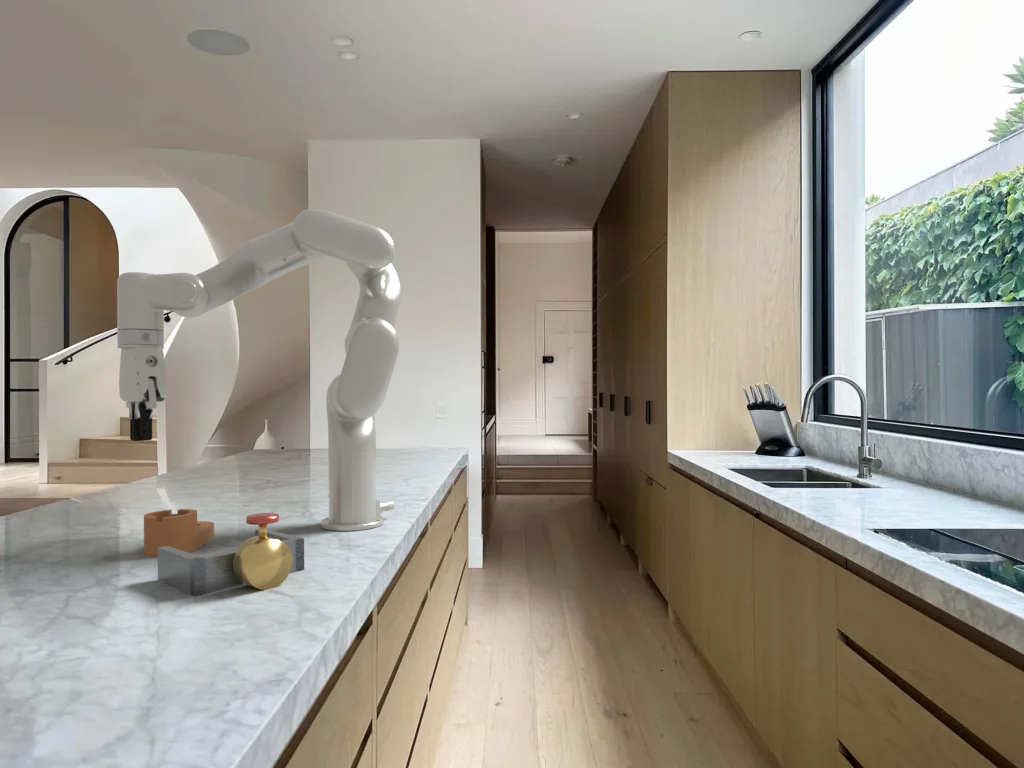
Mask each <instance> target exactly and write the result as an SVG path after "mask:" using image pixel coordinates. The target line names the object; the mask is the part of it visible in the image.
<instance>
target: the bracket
mask: <svg viewBox="0 0 1024 768" xmlns="http://www.w3.org/2000/svg"><path fill="white" fill-rule="evenodd" d="M212 537H213V538H215V523H214V522H213V521H208V520H206V521H205V520H198V511H197V510H196V509H193V508H192V509H190V508H180V509H177V513H172V509H163V510H156V511H153V512H149V513H145V514H144V515H143V552H144V553H143V555H144V556H145V555H146V556H145V557H148V556H150V557H149V558H158V547H164V546H170V547H173V548H176V549H179V550H182V551H185V552H188V553H190V552H191V553H194V552H196V551H197V550H198V548H199V547H200V546H201V547H203V546H204V545H205V544H207V543H208V542H209V541H211V540H212V539H213V538H212ZM211 538H212V539H211ZM210 539H211V540H210ZM208 540H209V541H208ZM207 541H208V542H207ZM206 542H207V543H206ZM204 543H205V544H204ZM203 544H204V545H203ZM202 545H203V546H202ZM201 547H200V548H201ZM200 548H199V549H200ZM195 550H196V551H195ZM193 551H194V552H193Z"/></svg>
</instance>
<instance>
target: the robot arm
mask: <svg viewBox="0 0 1024 768" xmlns="http://www.w3.org/2000/svg"><path fill="white" fill-rule="evenodd" d="M395 249H396V246H395V242H394V240H393V238H392V236H390V235H389V233H388V232H386V231H385V230H384V229H382V228H381V227H378V226H375V225H372V224H370V223H366V222H364V221H360V220H358V219H357V220H356V219H354V218H351V217H348V216H344V215H341V214H338V213H336V212H332V211H329V210H325V209H322V208H320V209H319V208H308V209H304V210H303V211H300V213H298V214H297V215H296V217H295V219H294V221H292V222H290V223H287V224H286V225H283V226H281V227H279V228H276V229H274V230H272V231H269V232H268V233H265V234H262V235H260V236H258V237H256V238H254V239H251V240H249V241H246V242H244V243H243V244H242V245H240V246H238V248H237V249H236V250H234V251H233V253H232V254H231V255H229V256H228V257H227V258H225V259H224V260H223V261H221V262H219V263H217V264H216V265H214V266H212V267H210V268H208V269H206V270H204V271H202V272H199V273H197V274H192V273H189V272H188V273H187V272H174V273H173V272H172V273H161V274H159V273H157V274H155V273H148V272H140V271H137V272H136V271H132V272H128V271H127V272H124V273H121V274H120V275H119V276H118V277H117V280H116V281H117V282H116V288H117V289H116V295H117V296H116V301H117V302H116V311H117V312H116V314H117V315H116V317H117V318H116V323H117V325H116V326H117V327H116V329H117V330H116V332H117V333H116V334H117V337H116V339H117V345H116V346H117V349H121V351H120V358H119V360H120V362H119V373H118V374H119V377H118V378H119V379H118V380H119V381H118V382H119V383H118V385H119V389H118V390H119V397H120V400H122V401H124V402H125V403H126V404H125V407H126V408H128V416H129V435H130V436H129V439H130V441H132V442H140V441H151V440H152V439H153V417H154V410H155V409H157V406H158V404H157V402H165V400H166V399H167V396H168V395H167V392H168V390H167V389H168V388H167V387H168V386H167V371H166V363H165V362H166V360H165V355H164V348H165V337H164V335H165V329H164V328H165V327H164V326H165V321H164V320H165V319H164V314H165V311H169V312H173V313H175V314H177V315H178V316H180V317H183V318H196V317H199V316H202V315H203V314H206V313H209V312H210V311H212V310H215V309H217V308H220V307H221V306H224V305H226V304H227V303H229V302H231V301H233V300H236V299H238V298H240V297H241V296H243V295H245V294H247V293H249V292H252V291H255V290H256V289H259V288H261V287H263V286H265V285H266V284H268V283H271V282H273V281H275V280H277V279H279V278H281V277H283V276H284V275H288V274H289V273H292V272H293V271H295V270H298V269H300V268H302V267H305V266H306V265H308V264H311V263H313V262H316V261H317V260H319V259H321V258H323V257H324V256H327V257H330V258H333V259H336V260H340V261H343V262H346V266H347V267H348V269H349V270H350V272H352V273H353V275H354V276H355V278H356V279H357V281H358V283H359V293H358V294H359V295H358V299H357V303H356V306H355V311H354V313H353V317H352V320H351V323H350V326H349V328H348V331H347V334H346V337H345V339H344V351H345V354H346V355H345V358H344V362H343V365H342V368H341V372H340V374H338V375H337V376H335V377H334V378H333V379H332V380H331V382H330V383H329V385H328V388H327V392H326V403H325V404H326V415H327V416H326V417H327V428H328V429H327V430H328V431H327V432H328V433H327V435H328V437H327V438H328V440H327V441H328V447H327V448H328V456H327V457H328V459H327V461H328V462H327V464H328V467H327V468H328V469H327V471H328V517H325V518H323V519H321V522H320V527H321V528H322V529H324V530H327V531H328V530H329V531H337V532H353V531H365V530H370V529H371V530H372V529H375V528H378V527H380V526H382V525H384V524H385V523H384V522H385V520H384V519H385V518H384V517H383V516H381V514H383V512H388V511H393V510H395V503H394V501H392V500H390V501H384V502H381V500H377V466H376V465H377V463H376V462H377V460H376V459H377V454H376V453H377V452H376V451H377V450H376V449H377V439H376V438H377V435H376V419H375V414H377V413H378V412H379V410H380V409H381V408H382V406H383V404H384V401H385V399H386V395H387V394H388V393H387V392H388V389H389V386H390V383H391V379H392V376H393V373H394V369H395V365H396V363H397V360H398V359H397V358H398V354H399V349H400V340H399V335H398V332H397V330H396V329H395V324H396V322H397V321H396V320H397V316H398V312H399V307H400V304H401V299H402V287H401V282H400V278H399V275H398V273H397V271H396V268H395V267H394V265H393V263H392V261H393V260H394V258H395V253H396V250H395Z"/></svg>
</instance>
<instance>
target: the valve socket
mask: <svg viewBox="0 0 1024 768" xmlns="http://www.w3.org/2000/svg"><path fill="white" fill-rule="evenodd" d="M245 518H246V519H245V520H246V522H245V523H246V524H247V525H255V526H256V525H258V527H257V529H255V530H254V531H255V533H254V536H251V537H249V538H247V539H246V540H244V541H243V542H242V543H241V544H240V545H239V547H238V548H237V549H234V550H229V551H224V552H218V553H214V554H208V555H203V556H199V555H196V554H194V553H192V552H191V553H188V552H185V551H182V550H179V549H176V548H173V547H170V546H164V547H158V557H157V581H158V580H159V581H158V582H160V581H162V582H164V583H163V584H165V583H166V584H165V585H167V584H168V586H169V587H172V588H174V589H177V590H178V591H181V592H183V593H185V594H187V595H191V596H193V597H195V598H196V597H199V595H200V596H202V595H203V594H204V595H208V594H212V593H216V592H220V591H225V590H227V589H232V588H236V587H237V588H238V587H239V586H244V585H247V586H250V587H253V588H256V589H259V590H262V591H267V590H272V589H275V588H277V587H279V586H280V585H281V584H283V583H284V581H286V579H287V578H288V576H289V575H290V574H294V573H297V572H298V573H299V572H302V571H305V538H302V537H300V536H296V535H292V534H287V533H283V532H279V531H275V530H272V529H268V525H269V524H275V523H278V522H279V521H280V514H279V513H274V512H261V513H253V514H249V515H247V516H246V517H245ZM162 582H161V583H162ZM219 590H220V591H219ZM215 591H216V592H215ZM211 592H212V593H211ZM207 593H208V594H207ZM204 595H203V596H204Z"/></svg>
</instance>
